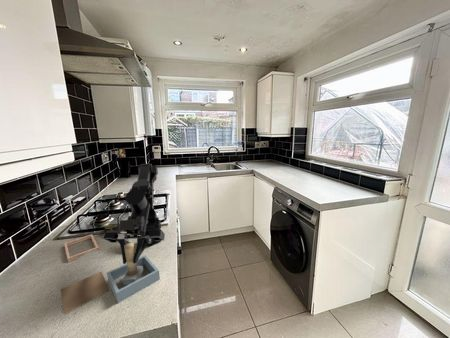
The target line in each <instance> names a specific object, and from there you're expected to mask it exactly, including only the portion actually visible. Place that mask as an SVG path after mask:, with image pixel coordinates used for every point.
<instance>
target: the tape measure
mask: <svg viewBox="0 0 450 338" xmlns="http://www.w3.org/2000/svg"><path fill="white" fill-rule="evenodd" d="M119 224H120V223H109V224H108V225H106V226H104V229H103V231H104V233H105V232H107V231H113V230H118V231H119ZM119 232H120V231H119Z"/></svg>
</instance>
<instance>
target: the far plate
mask: <svg viewBox="0 0 450 338" xmlns="http://www.w3.org/2000/svg"><path fill="white" fill-rule="evenodd" d="M108 292H110V288H109V286H108V284H107V281H106V279H105V277H104V274H103V272H102V271H99V272H97V273H94V274H92V275H90V276H88V277H85V278H83V279H81V280H78V281H76V282H75V283H72V284H69V285H67V286H65V287H62V288H60V294H61V304H62V311H63V315H65V314H68V313H70V312H72V311H74V310H75V309H77V308H79V307H82V306H83V305H85V304H87V303H90V302H91V301H93V300H95V299H97V298H98V297H100V296H103V295H105V294H107V293H108Z"/></svg>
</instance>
